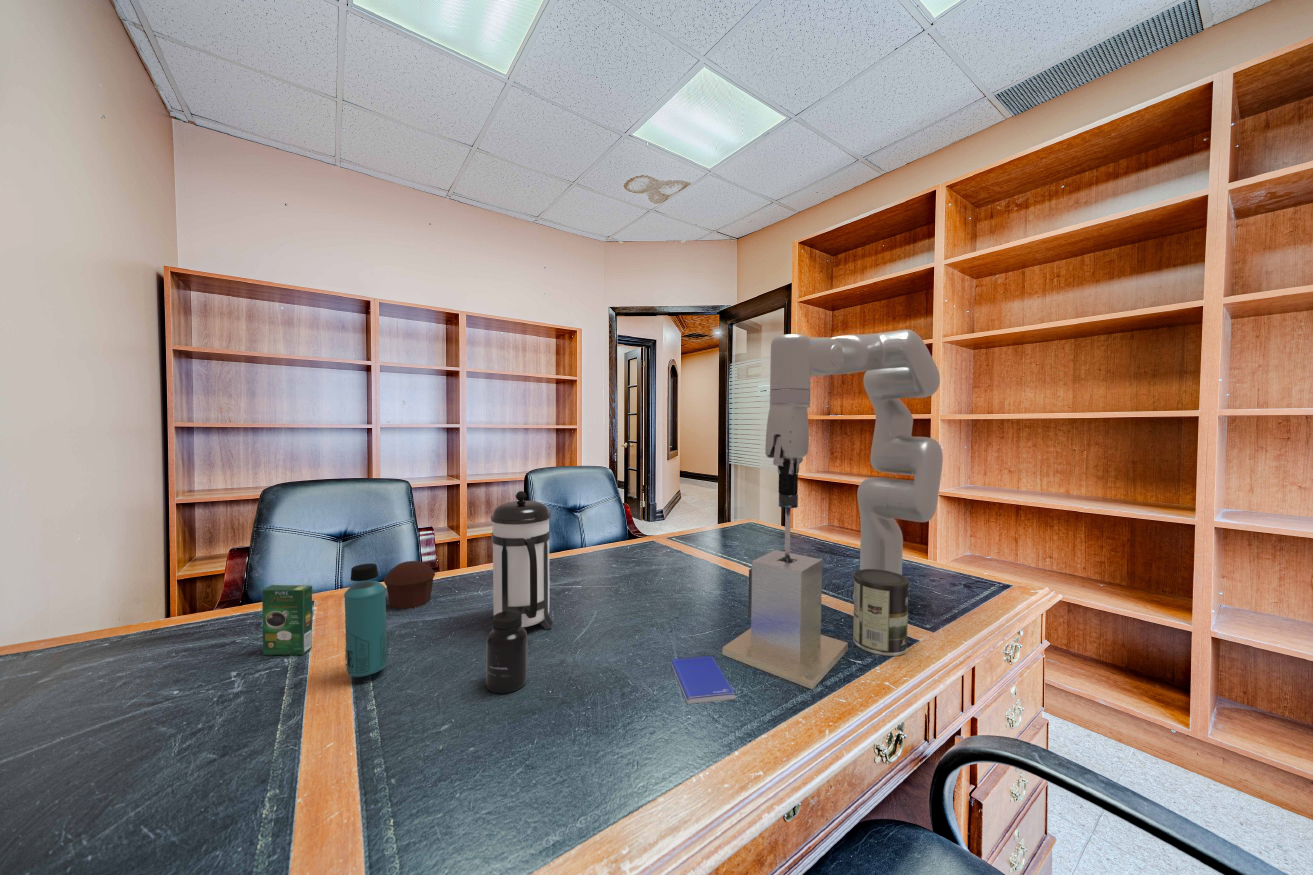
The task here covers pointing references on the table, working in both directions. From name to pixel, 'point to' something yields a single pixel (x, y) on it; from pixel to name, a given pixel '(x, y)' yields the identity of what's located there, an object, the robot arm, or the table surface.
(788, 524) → the plunger
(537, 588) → the coffee press
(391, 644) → the table surface
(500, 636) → the supplement bottle
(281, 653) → the coffee box
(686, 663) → the hard drive
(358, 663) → the beverage bottle
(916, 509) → the robot arm
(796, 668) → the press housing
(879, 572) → the coffee can
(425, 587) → the muffin
